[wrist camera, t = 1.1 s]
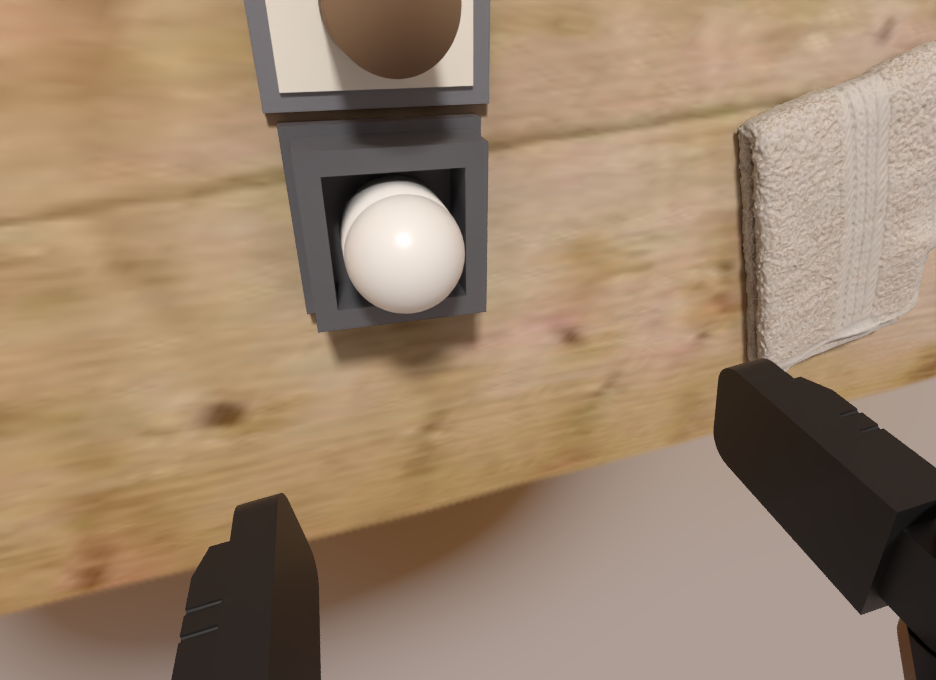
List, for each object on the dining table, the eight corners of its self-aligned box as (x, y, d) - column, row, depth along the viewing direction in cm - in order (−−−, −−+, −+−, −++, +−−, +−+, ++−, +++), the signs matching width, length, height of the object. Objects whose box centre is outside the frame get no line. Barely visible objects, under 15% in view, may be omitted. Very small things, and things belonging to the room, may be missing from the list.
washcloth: (741, 368, 41) (771, 392, 39) (722, 118, 32) (761, 128, 29) (889, 302, 42) (929, 321, 39) (916, 35, 32) (971, 38, 29)
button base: (306, 305, 30) (308, 343, 27) (277, 122, 26) (275, 140, 22) (474, 286, 32) (495, 319, 29) (474, 113, 28) (500, 128, 24)
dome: (345, 285, 28) (355, 342, 23) (332, 179, 25) (341, 219, 20) (448, 274, 29) (478, 326, 24) (446, 171, 26) (479, 207, 21)
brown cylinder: (325, 65, 24) (333, 81, 19) (310, -63, 22) (315, -82, 17) (428, 62, 25) (462, 76, 20) (424, -61, 23) (461, -78, 18)
